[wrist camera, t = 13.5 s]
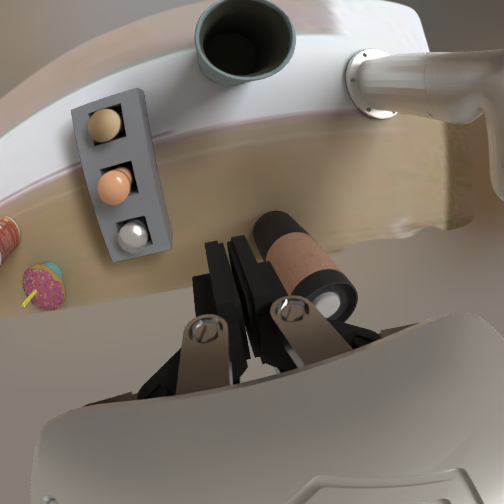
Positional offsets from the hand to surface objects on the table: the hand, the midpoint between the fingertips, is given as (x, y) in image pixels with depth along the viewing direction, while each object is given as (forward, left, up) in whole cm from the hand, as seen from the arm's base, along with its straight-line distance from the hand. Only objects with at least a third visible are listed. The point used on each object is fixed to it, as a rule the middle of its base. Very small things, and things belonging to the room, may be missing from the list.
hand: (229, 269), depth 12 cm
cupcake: (+30, +13, -29) cm, 44 cm away
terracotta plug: (+10, 0, -27) cm, 29 cm away
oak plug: (+10, -7, -28) cm, 31 cm away
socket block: (+10, 0, -29) cm, 31 cm away
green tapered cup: (-6, -14, -29) cm, 33 cm away
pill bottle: (+36, +3, -29) cm, 47 cm away
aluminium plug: (+11, +8, -29) cm, 31 cm away
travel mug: (-10, +14, -29) cm, 34 cm away
